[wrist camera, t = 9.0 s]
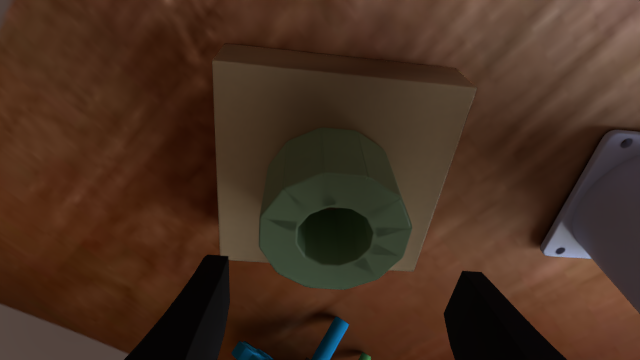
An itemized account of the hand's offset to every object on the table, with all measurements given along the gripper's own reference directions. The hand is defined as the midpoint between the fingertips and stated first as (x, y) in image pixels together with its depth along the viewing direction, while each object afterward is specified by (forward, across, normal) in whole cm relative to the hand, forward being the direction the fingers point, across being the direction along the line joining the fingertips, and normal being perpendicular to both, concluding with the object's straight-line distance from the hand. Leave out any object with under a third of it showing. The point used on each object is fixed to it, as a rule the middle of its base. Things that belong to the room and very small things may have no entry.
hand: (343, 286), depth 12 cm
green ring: (+6, 0, 0) cm, 6 cm away
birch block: (+8, 0, 0) cm, 8 cm away
